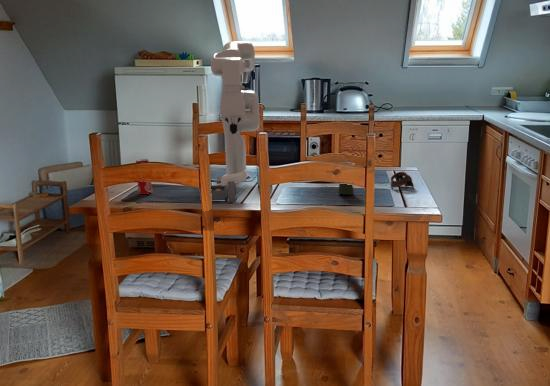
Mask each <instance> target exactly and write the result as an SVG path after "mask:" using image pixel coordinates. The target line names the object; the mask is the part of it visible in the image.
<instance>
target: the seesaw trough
mask: <svg viewBox="0 0 550 386" xmlns="http://www.w3.org/2000/svg"><path fill="white" fill-rule="evenodd" d="M248 174H249V173H248V171H247V168H246V170H244V172H240V173H235V174H231V175H226V176H224V175H223V176H220V177H219V178H217V179H216V184H217V185H218V184H221V185H220V186H228V181H234V183H236V184H237V183H243V182H246V181H247V179H248V178H247V177H248ZM246 178H247V179H246Z"/></svg>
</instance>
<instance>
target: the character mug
mask: <svg viewBox="0 0 550 386" xmlns="http://www.w3.org/2000/svg"><path fill="white" fill-rule="evenodd" d="M339 163H340V164H347V165H355V166H356V163H355V162H350V161H349V162H346V161H345V162H342V161H341V162H339ZM339 194H340V195H345V196H347V195H354V185H353V186H352V185H347V184H340V183H339V185H338V195H339Z"/></svg>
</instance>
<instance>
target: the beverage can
mask: <svg viewBox="0 0 550 386" xmlns="http://www.w3.org/2000/svg"><path fill="white" fill-rule="evenodd" d="M141 162H149V163H150V161H149V159H148V158H147V159H146V158H144V159H143V158H141V159H136V160H135V164H136V163H141ZM152 185H153V184H152V181H151V182H137V188H138V194H149V193H152V194H153V186H152ZM149 195H150V194H149Z"/></svg>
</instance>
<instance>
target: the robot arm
mask: <svg viewBox="0 0 550 386" xmlns="http://www.w3.org/2000/svg"><path fill="white" fill-rule="evenodd" d="M255 55H256V54H255V48H254V45H253V44H252V42H250V41H229V42H227V43H225V44H224V45H223V47H222V50H221V51H218V52H216V53H214V54H213V55H212V56H211V61H210V71H211V73H212V74H213V75H214V76H215V77H216V76H217V77H221V79H222V92H221V94H220V95H221V96H220V111H219V112H220V118H219V119H220V120H221V122H222V127H223V128H222V129H223V133H224V145H225V148H224V149H225V166H226V167H225V170H226V171H225V172H226V173H225V174H223V176H226V175H231V174H235V173H240V172H244V170H246V169H247V155H246V154H247V153H246V139H245V138H244V137H243V135H242V134H241V132H242V133H243V132H256V131H258V130H259V129H260V124H261V123H260V120H261V119H260V118H261V117H260V104H259V102H260V101H259V95H258V94H257V92H256V91H254V90H245V88H246V87H245V86H243V82H242V78H241V76H242V75H243V73H245V72H246V73H248V72H253V71H254V69H255V65H256V64H255V63H256V62H255V61H256V60H255V59H256V57H255ZM247 174H248V176H250V174H249V173H247Z"/></svg>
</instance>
